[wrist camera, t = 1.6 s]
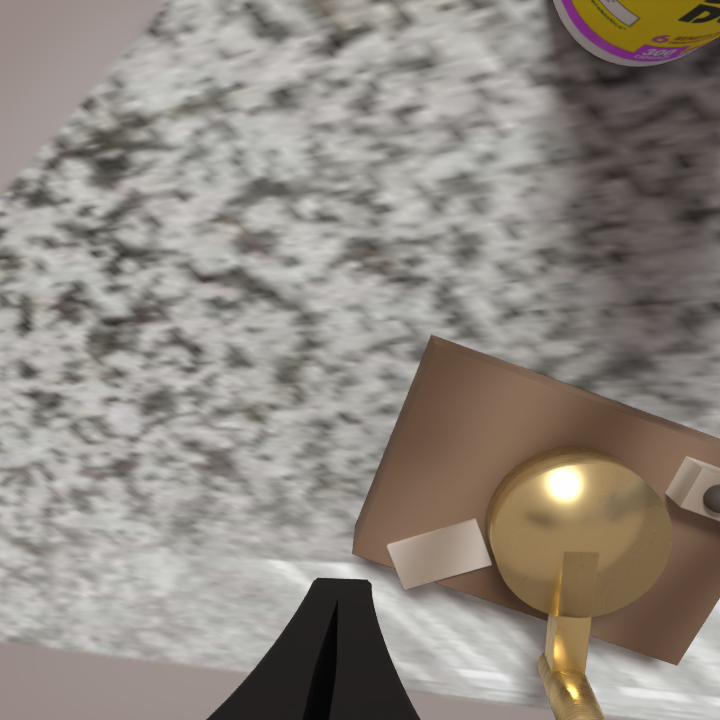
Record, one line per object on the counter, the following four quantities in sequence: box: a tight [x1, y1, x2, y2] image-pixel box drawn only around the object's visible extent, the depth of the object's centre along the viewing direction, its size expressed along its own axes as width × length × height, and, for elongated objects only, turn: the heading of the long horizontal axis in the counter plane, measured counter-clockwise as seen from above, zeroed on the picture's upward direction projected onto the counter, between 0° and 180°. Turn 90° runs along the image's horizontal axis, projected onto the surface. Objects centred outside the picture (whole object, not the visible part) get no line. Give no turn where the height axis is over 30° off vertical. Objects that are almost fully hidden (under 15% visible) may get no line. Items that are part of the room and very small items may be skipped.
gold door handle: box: [486, 446, 673, 720], centre depth 17 cm, size 10×6×4 cm, turn 0°
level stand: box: [352, 335, 720, 665], centre depth 20 cm, size 14×10×4 cm
